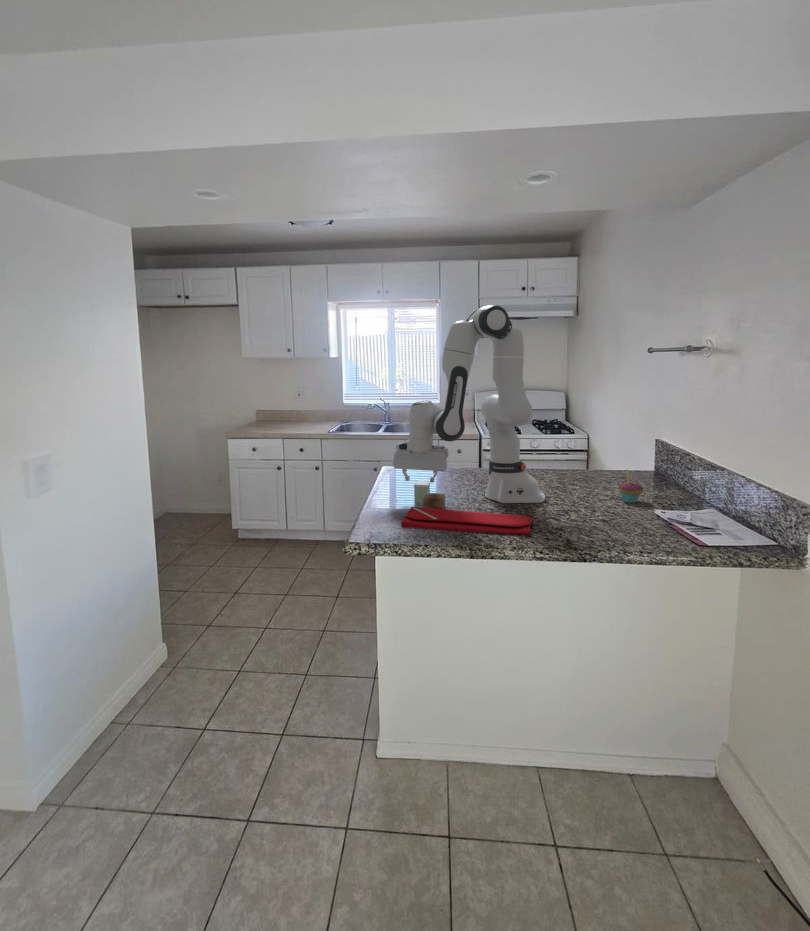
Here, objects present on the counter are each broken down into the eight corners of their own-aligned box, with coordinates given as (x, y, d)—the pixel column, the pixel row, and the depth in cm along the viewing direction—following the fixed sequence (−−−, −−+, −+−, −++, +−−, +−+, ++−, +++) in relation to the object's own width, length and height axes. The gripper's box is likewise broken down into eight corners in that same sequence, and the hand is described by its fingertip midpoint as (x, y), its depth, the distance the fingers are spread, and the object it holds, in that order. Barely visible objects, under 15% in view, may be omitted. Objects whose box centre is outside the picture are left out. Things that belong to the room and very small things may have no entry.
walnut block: (445, 506, 202) (445, 493, 201) (443, 512, 195) (443, 498, 194) (426, 506, 203) (425, 493, 202) (423, 511, 196) (423, 498, 195)
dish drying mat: (530, 537, 169) (530, 526, 168) (400, 528, 179) (400, 517, 178) (532, 522, 184) (532, 511, 183) (412, 514, 194) (412, 504, 193)
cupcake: (614, 501, 205) (616, 469, 203) (623, 496, 211) (625, 465, 209) (637, 505, 199) (639, 472, 197) (646, 500, 205) (648, 469, 203)
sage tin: (430, 500, 211) (430, 481, 209) (427, 503, 206) (427, 485, 204) (416, 499, 212) (416, 481, 210) (414, 503, 207) (413, 484, 205)
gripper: (449, 444, 205) (448, 481, 208) (395, 442, 209) (395, 478, 212) (447, 447, 199) (446, 485, 202) (392, 444, 203) (391, 481, 206)
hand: (419, 481), depth 207 cm, fingers open, 8 cm apart
